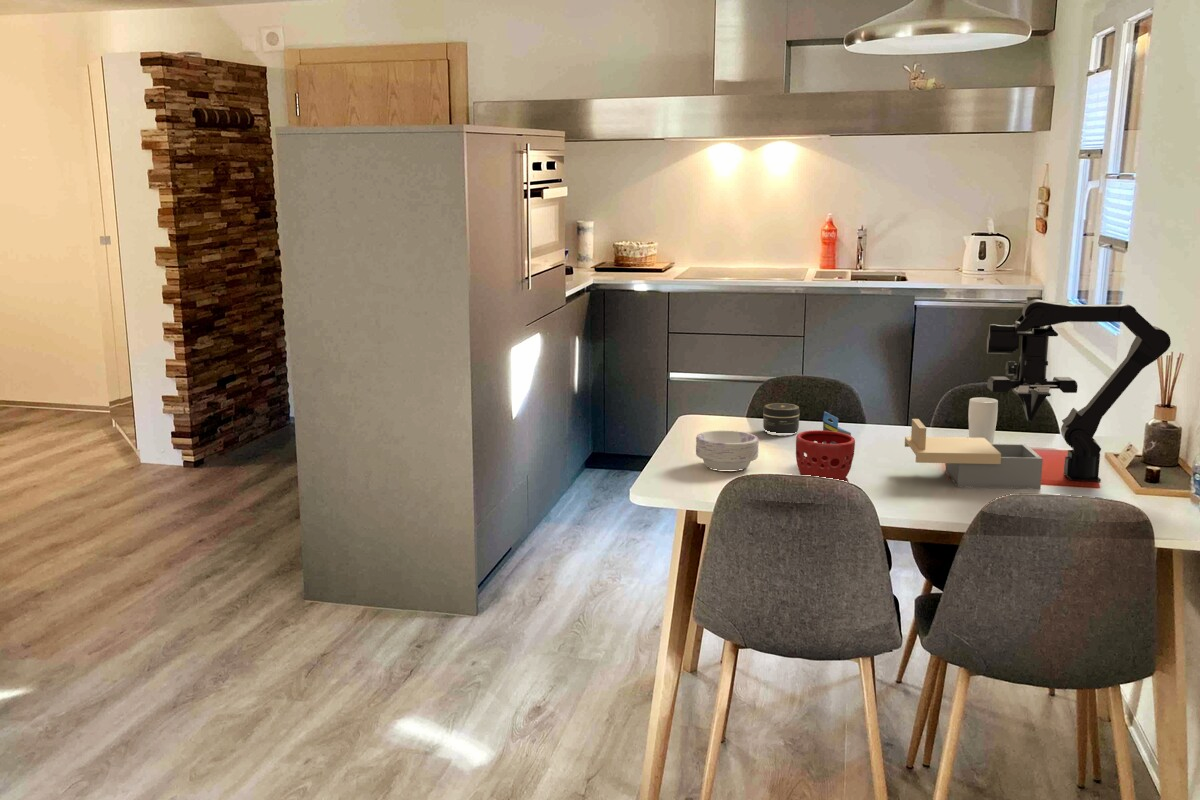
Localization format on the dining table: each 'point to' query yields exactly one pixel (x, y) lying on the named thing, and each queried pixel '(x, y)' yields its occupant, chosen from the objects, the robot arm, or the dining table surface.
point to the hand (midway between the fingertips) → (1029, 420)
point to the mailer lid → (950, 448)
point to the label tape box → (832, 425)
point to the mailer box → (1001, 470)
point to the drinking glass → (982, 418)
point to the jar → (781, 418)
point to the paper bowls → (727, 449)
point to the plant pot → (825, 454)
